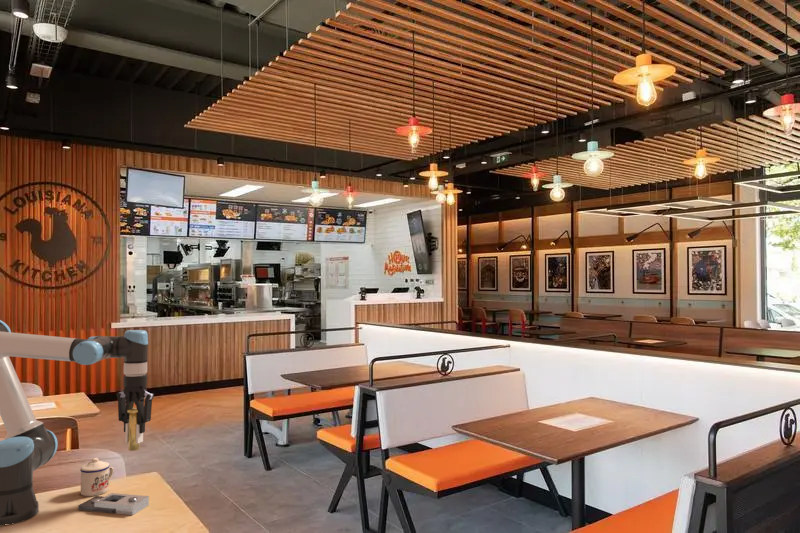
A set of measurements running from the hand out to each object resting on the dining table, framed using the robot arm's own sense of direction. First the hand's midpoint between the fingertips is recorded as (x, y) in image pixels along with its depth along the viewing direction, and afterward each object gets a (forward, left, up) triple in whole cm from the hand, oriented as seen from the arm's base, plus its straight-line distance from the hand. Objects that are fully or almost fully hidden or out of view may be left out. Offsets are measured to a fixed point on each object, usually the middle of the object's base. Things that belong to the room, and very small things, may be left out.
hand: (134, 441), depth 195 cm
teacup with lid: (-15, +1, -19) cm, 24 cm away
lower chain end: (-2, -11, -18) cm, 21 cm away
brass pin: (0, 0, -3) cm, 3 cm away
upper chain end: (+4, -11, -18) cm, 22 cm away
